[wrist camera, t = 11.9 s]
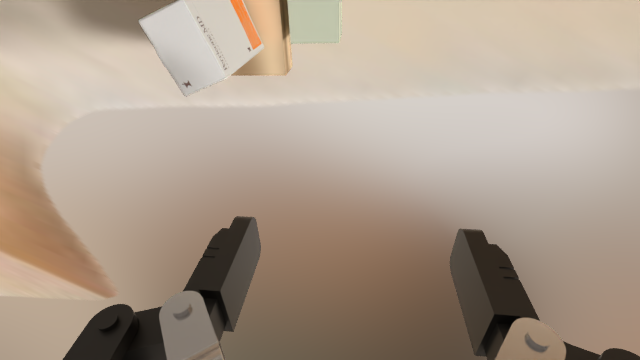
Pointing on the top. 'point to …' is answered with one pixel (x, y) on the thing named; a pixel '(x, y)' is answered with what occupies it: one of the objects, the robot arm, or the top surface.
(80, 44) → the top surface
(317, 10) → the sage cube
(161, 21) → the skincare box
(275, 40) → the block
